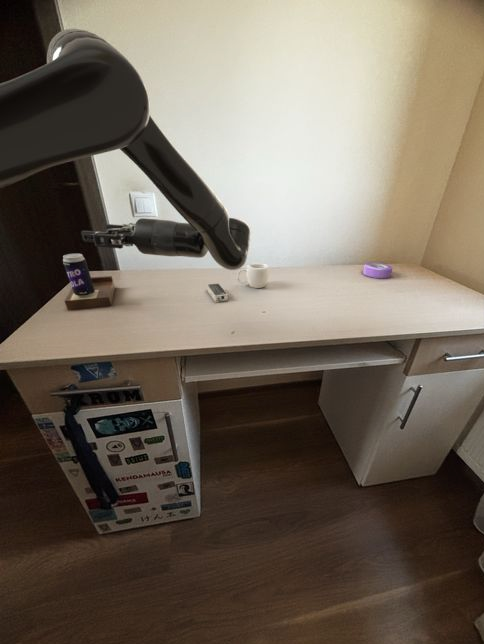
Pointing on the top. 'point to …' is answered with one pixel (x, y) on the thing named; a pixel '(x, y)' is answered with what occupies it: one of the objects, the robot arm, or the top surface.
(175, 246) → the robot arm
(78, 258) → the beverage can
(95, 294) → the wooden serving tray
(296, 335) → the top surface
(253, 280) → the mug
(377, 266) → the tape roll
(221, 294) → the multiport hub
